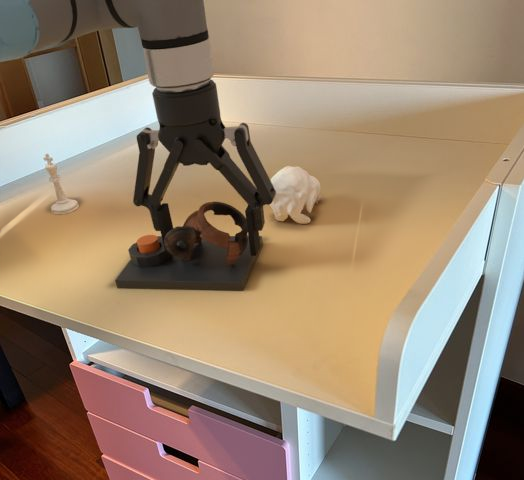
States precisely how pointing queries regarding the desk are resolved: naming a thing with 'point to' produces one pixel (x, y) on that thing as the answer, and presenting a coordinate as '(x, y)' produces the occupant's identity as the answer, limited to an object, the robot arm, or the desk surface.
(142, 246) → the button
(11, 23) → the robot arm
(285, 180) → the white animal figurine
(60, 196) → the chess piece
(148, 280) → the dark grey button base
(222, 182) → the desk surface
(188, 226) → the brown curved loop
